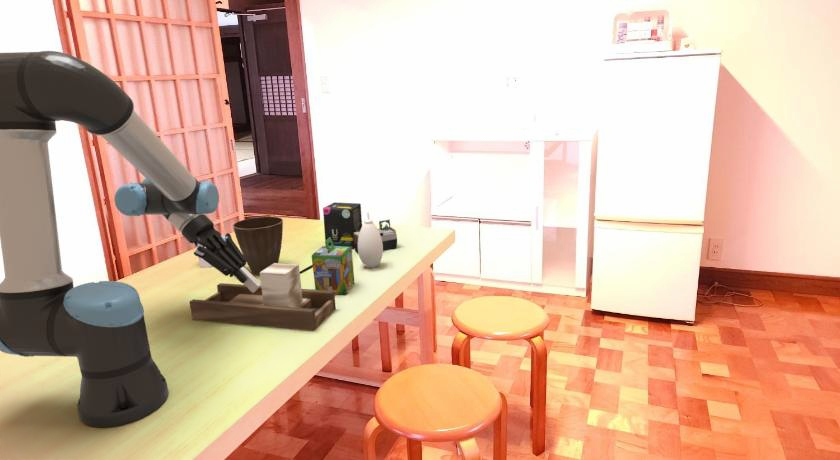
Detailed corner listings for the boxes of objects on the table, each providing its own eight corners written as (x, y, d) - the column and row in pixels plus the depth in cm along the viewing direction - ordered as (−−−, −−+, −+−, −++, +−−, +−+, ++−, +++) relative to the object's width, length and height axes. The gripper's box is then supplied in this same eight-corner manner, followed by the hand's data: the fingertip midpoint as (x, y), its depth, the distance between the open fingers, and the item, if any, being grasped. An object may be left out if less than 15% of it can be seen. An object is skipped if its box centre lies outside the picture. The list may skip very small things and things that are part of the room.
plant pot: (230, 278, 170) (223, 228, 165) (255, 262, 184) (249, 215, 179) (274, 280, 166) (268, 229, 162) (296, 264, 180) (291, 216, 176)
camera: (359, 256, 185) (357, 228, 182) (352, 250, 192) (350, 223, 189) (401, 250, 191) (399, 222, 188) (393, 244, 197) (392, 217, 195)
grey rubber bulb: (387, 268, 172) (383, 212, 167) (363, 272, 170) (359, 216, 165) (379, 261, 179) (376, 207, 174) (356, 265, 177) (352, 210, 172)
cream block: (289, 312, 135) (285, 274, 133) (264, 310, 137) (259, 272, 135) (302, 301, 142) (298, 264, 139) (278, 299, 144) (274, 263, 141)
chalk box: (345, 295, 153) (341, 244, 149) (314, 294, 154) (309, 243, 150) (355, 283, 161) (352, 234, 157) (326, 282, 163) (321, 234, 159)
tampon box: (325, 248, 196) (321, 207, 192) (336, 240, 204) (333, 202, 200) (353, 249, 193) (350, 208, 189) (363, 241, 201) (361, 202, 197)
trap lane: (313, 330, 132) (311, 311, 130) (192, 319, 141) (189, 301, 139) (335, 308, 144) (334, 291, 142) (222, 299, 153) (220, 283, 151)
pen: (284, 282, 165) (283, 278, 165) (320, 262, 182) (320, 259, 182) (286, 282, 165) (286, 279, 165) (322, 262, 181) (322, 259, 181)
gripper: (201, 226, 148) (262, 288, 148) (167, 240, 136) (234, 307, 136) (215, 207, 145) (278, 270, 145) (182, 220, 133) (250, 289, 133)
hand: (257, 288), depth 141 cm, fingers closed
